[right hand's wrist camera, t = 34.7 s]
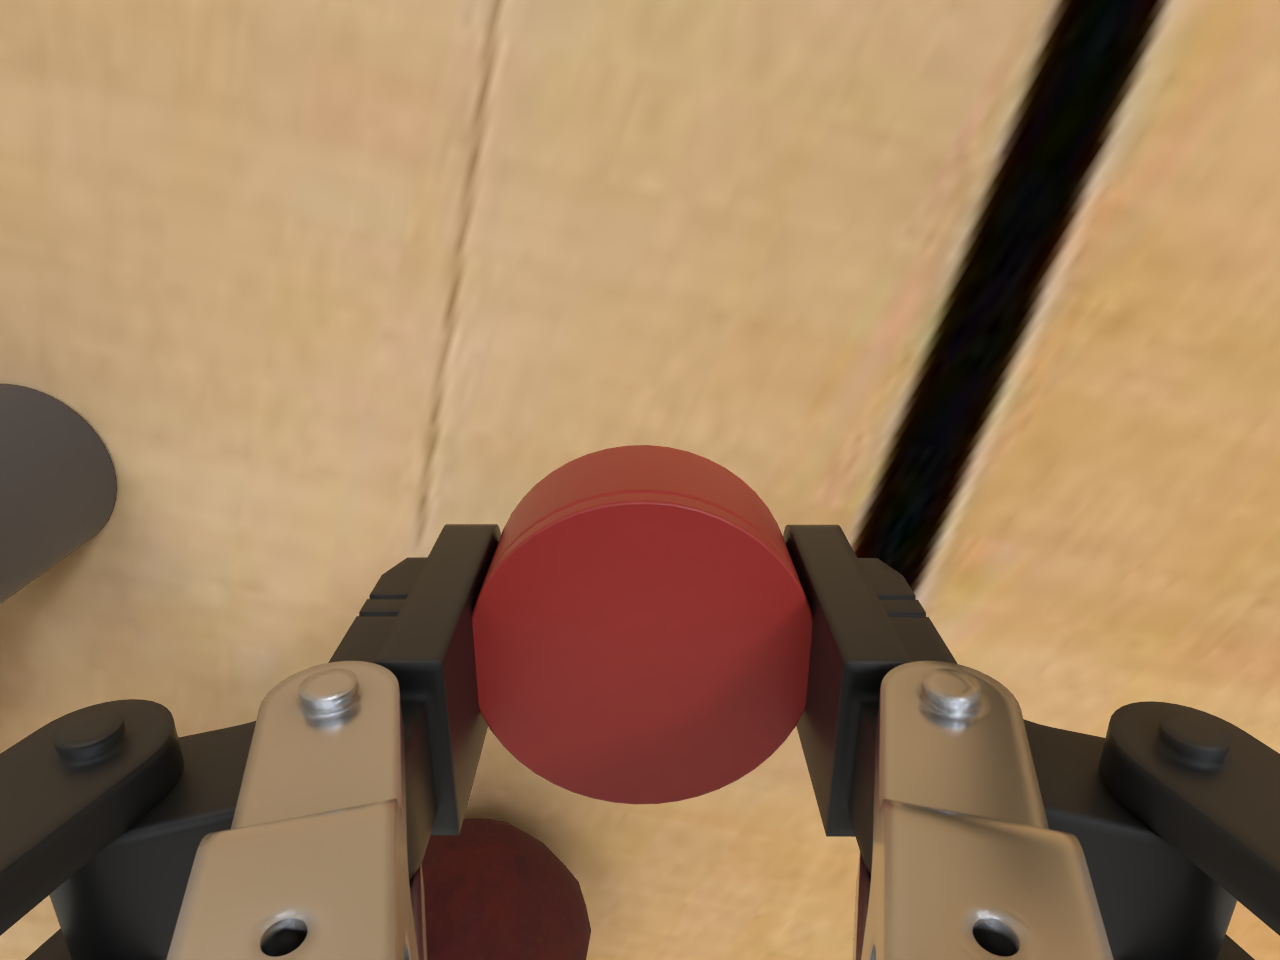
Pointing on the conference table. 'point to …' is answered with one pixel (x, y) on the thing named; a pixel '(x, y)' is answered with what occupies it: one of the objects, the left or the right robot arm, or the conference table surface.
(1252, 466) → the conference table surface
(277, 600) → the conference table surface
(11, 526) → the bottle
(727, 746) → the cap
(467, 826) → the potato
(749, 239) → the conference table surface
